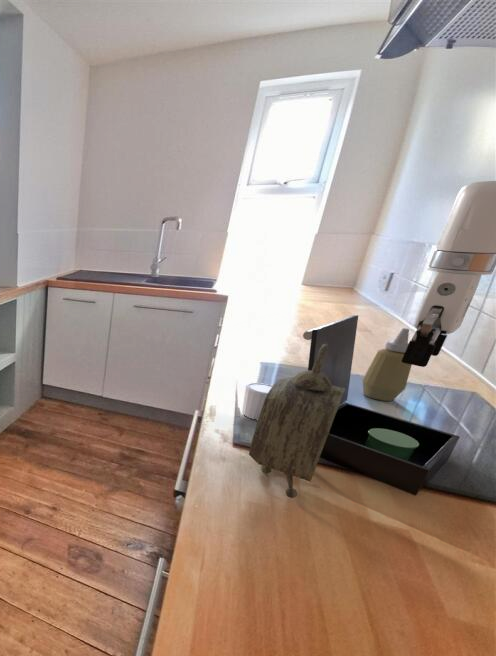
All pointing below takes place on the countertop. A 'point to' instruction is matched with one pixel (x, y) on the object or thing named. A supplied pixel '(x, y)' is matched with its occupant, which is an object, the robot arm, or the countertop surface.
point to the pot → (391, 443)
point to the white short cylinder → (254, 399)
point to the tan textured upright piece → (296, 423)
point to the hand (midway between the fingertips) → (419, 358)
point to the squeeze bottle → (388, 370)
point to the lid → (334, 350)
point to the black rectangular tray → (405, 475)
